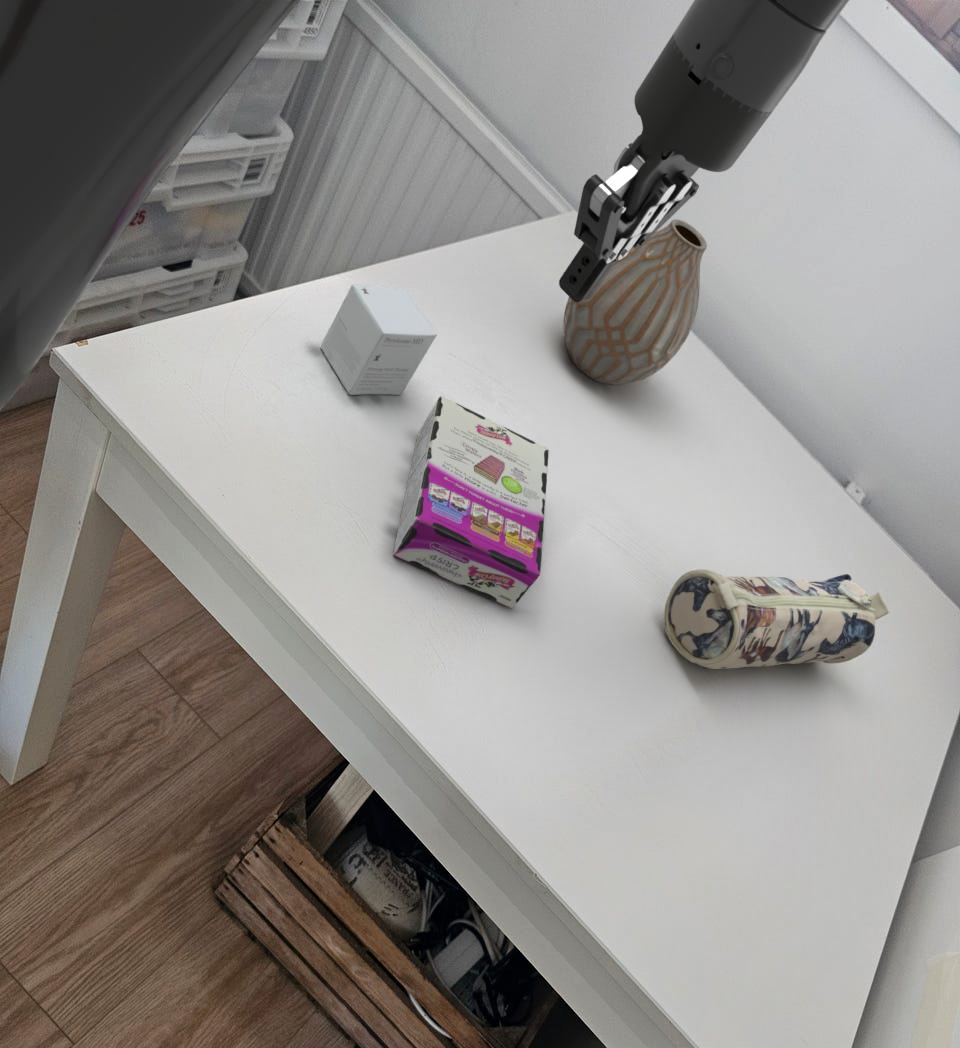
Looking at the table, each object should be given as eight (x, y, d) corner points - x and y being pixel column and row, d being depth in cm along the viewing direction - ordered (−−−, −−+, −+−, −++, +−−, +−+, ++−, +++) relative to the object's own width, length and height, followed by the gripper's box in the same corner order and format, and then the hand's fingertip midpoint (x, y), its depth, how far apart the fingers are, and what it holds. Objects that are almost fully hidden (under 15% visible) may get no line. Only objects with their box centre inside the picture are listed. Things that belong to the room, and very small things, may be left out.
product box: (347, 396, 90) (382, 333, 85) (317, 346, 92) (350, 281, 87) (402, 396, 94) (439, 335, 89) (372, 347, 96) (407, 285, 91)
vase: (527, 349, 110) (622, 212, 98) (562, 305, 120) (652, 175, 108) (625, 423, 111) (730, 296, 100) (652, 374, 121) (750, 253, 109)
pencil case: (791, 612, 106) (861, 553, 100) (831, 682, 102) (907, 626, 96) (637, 609, 94) (705, 541, 87) (676, 689, 90) (751, 625, 83)
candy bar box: (510, 613, 85) (524, 484, 96) (541, 577, 81) (553, 447, 92) (387, 557, 81) (416, 430, 92) (414, 517, 78) (441, 390, 89)
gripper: (727, 27, 67) (581, 245, 79) (634, 21, 58) (484, 270, 69) (809, 104, 66) (650, 313, 78) (729, 111, 57) (560, 348, 68)
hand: (572, 292), depth 74 cm, fingers closed
